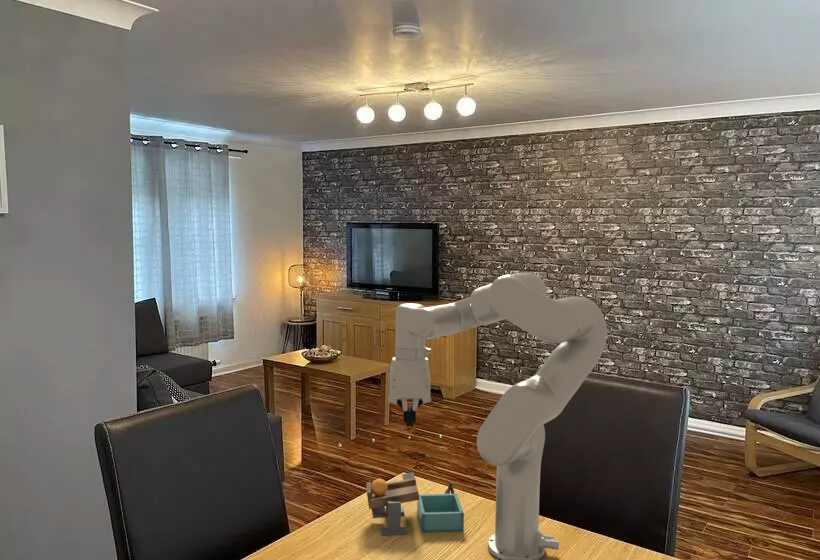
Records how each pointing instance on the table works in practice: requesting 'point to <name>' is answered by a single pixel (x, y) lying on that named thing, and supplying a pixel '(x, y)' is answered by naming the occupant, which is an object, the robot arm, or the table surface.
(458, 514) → the teal open box
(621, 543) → the table surface
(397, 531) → the lever stand
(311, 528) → the table surface
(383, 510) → the lever
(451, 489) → the wooden post with brackets
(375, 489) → the ball
